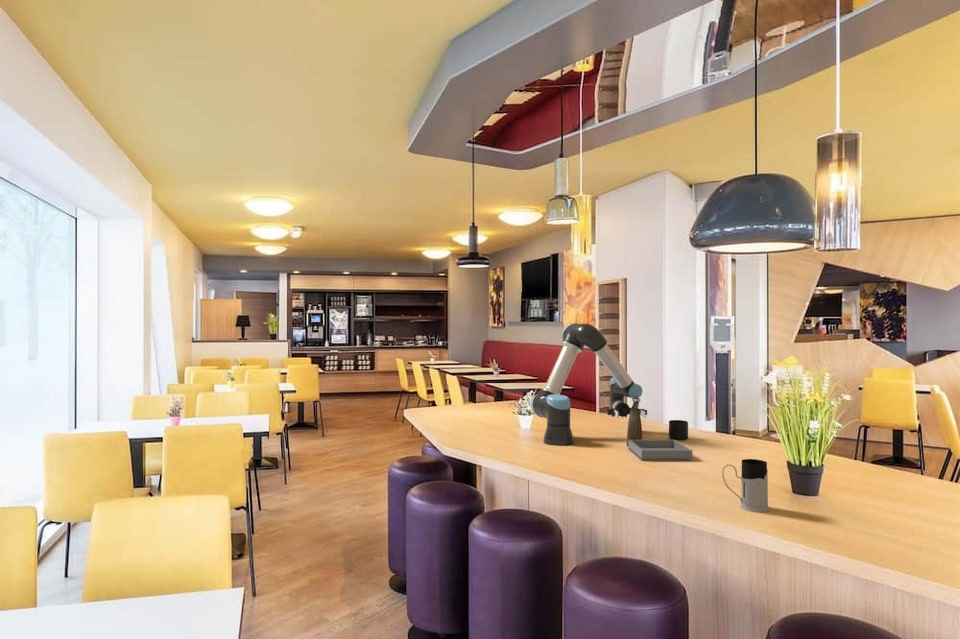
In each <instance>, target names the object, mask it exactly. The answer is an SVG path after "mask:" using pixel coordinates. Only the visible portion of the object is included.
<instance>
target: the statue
mask: <svg viewBox="0 0 960 639" xmlns="http://www.w3.org/2000/svg"><path fill="white" fill-rule="evenodd" d="M631 399H632V402H633V404H632V406H631V407H630V408H631V411H630V414H628V423H627V431H626V432H627V434H626V447H628V440H643V429H642V428H643V427H642V419H641V415H640V410H639V409H640V408H639V407H640V406H639V405H640V404H639V403H640V402H641V398H640V397H639V398H637V395H636V398H635V397H634V398H631Z"/></svg>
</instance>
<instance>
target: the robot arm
mask: <svg viewBox="0 0 960 639" xmlns="http://www.w3.org/2000/svg"><path fill="white" fill-rule="evenodd" d="M561 337H562V342H561V344H562V348H561V351H560V353H559V355H558V356H557V359H556V361H555V364H554V365H553V368H552V370H551V373H550V374H549V377H548V379H547V381H546V383H545V386H544V387H541V388H540V390H539V391H538V393H537V394H535V395H534V396H533V397H532V398H531V401H530V408H531V411H532V412H533V414H534V415H536V416H538V417H540V418H544V419H546V428H545V432H544V435H543V443H544V444H546V445H547V444H548V445H552V446H566V445H567V446H568V445H569V446H570V445H573V444H574V443H575V440H574V439H575V438H574V435H573V431H572V429H571V400H570V398H569V396H567V395H564V394H561V391H562V389H563V387H564V385H565V382H566V381H567V380H568V379H567V378H568V376H569V374H570V372H571V369H572V368H573V364H574V363H575V360H576V358H577V356H578V354H580V353H582V352H583V349H584V347H586V348H588V349H589V351H591V352H592V353H595V355H596V356H597V358H598V359H599V361H601V363H602V364H603V366H604V367H605V369H606V370H607V371H608V372H609V374H610V375H611V377H612V378H610V384H609V393H610V394H609V395H610V396H609V398H610V399H609V402H608V407H609V409H607V415H608V416H611V418H612V417H615V418H619V417H621V418H622V417H627V416H629V415H630V411H631V408H632V407H630V406H629V404H627V403H626V402H625V397H626V398H631V399H632V398H633V399H634V397H635V398H636V395H637V398H640V397H641V396H642V395H643V388H642V386H641V385H640V384H637V383H635V381H633V379H632V377H631V376H630V375H629V373H628V372H627V371H626V369H625V368H624V366H623V365H622V364H621V362H620V361H619V359H618V357H616V355H615V354H614V352H613V351H612V350H611V348H610V347H609V345H608V340H607V339H606V337H605V336H604V335H603V334H602V333H601V331H599V329H598V328H597V327H596V326H594V325H593V324H590V323H570V324H568V325H566V326H565V327H564V329H563V330H562V333H561ZM638 409H639V410H640V417H643V418H646V416H647V415H648V410H647V409H645V408H638Z"/></svg>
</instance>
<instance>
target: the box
mask: <svg viewBox="0 0 960 639" xmlns="http://www.w3.org/2000/svg"><path fill="white" fill-rule="evenodd" d="M628 450H629V451H630V452H631V453H632V454H633V455H635V457H636V458H638V459H639V460H640V461H641V462H642V461H643V462H646V461H647V462H649V461H650V462H653V461H654V462H660V461H663V462H665V461H666V462H676V461H677V462H679V461H681V462H683V461H684V462H685V461H686V462H687V461H688V462H689V461H693V449H691V448H690V447H688V446H686V445H684V444H682V443H680V442H679V440H672V439H642V440H628Z"/></svg>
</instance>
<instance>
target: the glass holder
mask: <svg viewBox="0 0 960 639" xmlns="http://www.w3.org/2000/svg"><path fill="white" fill-rule="evenodd" d="M726 467H733V469H734V471H735V473H734V474H735V477H736V478H737V479H740V486H741V487H740V490H741V492H740V493H741V494H740V495H738V494H737V493H736V492H734V491H733V490H732V489H731V488H730V487H729V486H728V484H727V482H726V479H725V475H724V473H725V472H724V470H725V469H726ZM768 474H769V473H768V462H767V461H765V460H762V459H756V458H755V459H754V458H744V459H742V460H741V475H740V476H738V471H737V468H736V466H734V465H733V464H725V465H724V466H723V467H722V472H721V475H722V480H723V483H724V485H725V486H726V488H727V489H728V490H729V491H730V492H731V493H732V494H734V495H735V496H736V497H738V499H739V500H740V504H739V508H740V509H742V510H744V511H747V512H751V513H767V512H769V511H770V508H769V499H768V498H769V495H768V493H769V491H768V490H769V488H768V485H769V484H768V478H769V477H768V476H769V475H768ZM740 496H741V497H740Z"/></svg>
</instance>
